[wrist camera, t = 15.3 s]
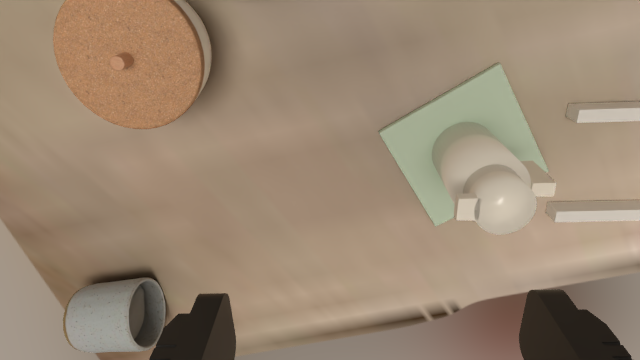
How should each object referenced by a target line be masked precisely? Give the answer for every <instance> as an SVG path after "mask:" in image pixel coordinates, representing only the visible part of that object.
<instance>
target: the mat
mask: <svg viewBox="0 0 640 360" xmlns="http://www.w3.org/2000/svg"><path fill="white" fill-rule="evenodd" d="M462 122H474V123H478V124H481V125H483V126H484V127H486V128H487V129H488V130H489V131H490V132H491V133H492V134H493V135H494V136H495V137H496V138H497V139H498V140H499V141H500V142H501V143H502V144H503V145H504V146H505V147H506V148H507V149H508V150H509V151H510V152H511V153H512V154H513V155H514V156H515V157H516V158H517V159H518V160H519V161H534V162H535V163H536V164H537V165H538V166H539V167H540V168H541V169H542V170H543V171H545V172H548V171H549V170H548V168H547V166H546V164H545V162H544V159H543V157H542V155H541V153H540V151H539V148H538V146H537V144H536V142H535V139H534V137H533V135H532V133H531V131H530V128H529V126H528V124H527V122H526V120H525V117H524V115H523V113H522V111H521V108H520V106H519V104H518V102H517V100H516V97H515V95H514V93H513V91H512V89H511V86H510V84H509V82H508V80H507V77H506V75H505V73H504V71H503V69H502V66H501V64H500V63H496V64H495V65H493V66H491V67H489V68H488V69H486V70H484V71H482V72H481V73H479V74H477V75H475V76H474V77H472V78H470V79H468V80H467V81H465V82H463V83H462V84H460V85H458V86H456V87H455V88H453V89H451V90H449V91H448V92H446V93H444V94H442V95H441V96H439V97H437V98H435V99H434V100H432V101H430V102H428V103H427V104H425V105H423V106H421V107H420V108H418V109H416V110H414V111H413V112H411V113H409V114H407V115H406V116H404V117H402V118H400V119H399V120H397V121H395V122H393V123H392V124H390V125H388V126H386V127H385V128H383V129H381V130H379V131H378V132H379V134H380V136H381V137H382V139H383V141H384V142H385V144H386V146H387V147H388V149H389V151H390V152H391V154H392V156H393V157H394V159H395V160H396V162H397V164H398V165H399V167H400V169H401V170H402V172H403V174H404V175H405V177H406V179H407V180H408V182H409V184H410V185H411V187H412V189H413V190H414V192H415V194H416V195H417V197H418V198H419V200H420V202H421V203H422V205H423V207H424V208H425V210H426V212H427V213H428V215H429V217H430V218H431V220H432V222H433V223H434V225H435V227H436V226H438V225H440V224H442V223H444V222H446V221H448V220H450V219H452V218H454V206H455V205H454V203H453V201H452V199H451V197H450V195H449V193H448V191H447V189H446V187H445V186H444V184H443V182H442V180H441V178H440V176H439V174H438V172H437V170H436V168H435V166H434V164H433V161H432V149H433V145H434V143H435V141H436V139H437V138H438V136H439V135H440V134H441V133H442V132H443V131H444V130H446V129H447V128H449V127H450V126H452V125H454V124H457V123H462Z"/></svg>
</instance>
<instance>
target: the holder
mask: <svg viewBox="0 0 640 360" xmlns="http://www.w3.org/2000/svg"><path fill="white" fill-rule="evenodd" d="M566 117H568V118H569V119H571V120H573V121H574V122H576V123H592V122H624V121H640V101H631V102H601V103H571V104H568V107H567V112H566ZM546 213H547V214H548V216H549V217H550V218H551V219H552V220H553V221H554V222H595V221H640V200H610V201H567V202H548V203H547V208H546Z"/></svg>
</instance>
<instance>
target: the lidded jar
mask: <svg viewBox="0 0 640 360" xmlns="http://www.w3.org/2000/svg"><path fill="white" fill-rule="evenodd" d="M53 42H54V52H55V56H56V60H57V64H58V67H59V69H60V71H61V74H62V76H63V78H64V80H65V81H66V83H67V85H68V87H69V88H70V89H71V91H72V92H73V93H74V95H75V96H76V97H77V98H78V99H79V100H80V101H81V102H82V103H83V104H84V105H85V106H86V107H87V108H89V109H90V110H91V111H92V112H93V113H95V114H97V115H98V116H100V117H101V118H103V119H105V120H107V121H109V122H111V123H114V124H116V125H120V126H123V127H127V128H133V129H151V128H157V127H160V126H163V125H167V124H169V123H170V122H172V121H174V120H176V119H177V118H179V117H180V116H181V115H182V114H184V113H185V112H186V111H187V110H188V109H189V107H190V106H191V105H192V104H193V103H194V101H195V99H196V98H197V97H198V96H199V95H200V93H201V91H202V90H203V88H204V86H205V84H206V82H207V79H208V77H209V73H210V68H211V58H212V53H211V44H210V40H209V36H208V33H207V31H206V28H205V26H204V24H203V22H202V21H201V19H200V17H199V16H198V14H197V13H196V12H195V11H194V9H193V8H192V7H191V6H190V5H189V4H188V3H187V2H186V1H185V0H65V2H64V3H63V5H62V6H61V8H60V10H59V13H58V15H57V17H56V22H55V26H54V37H53Z"/></svg>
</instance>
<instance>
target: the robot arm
mask: <svg viewBox="0 0 640 360" xmlns="http://www.w3.org/2000/svg"><path fill="white" fill-rule="evenodd" d="M519 343H520V349H521V353H522V356H523V358H524V360H632V359H631V355H630V354H629V353H628V352H627V350H626V349H625V348H624V346H623V345H620V341H619V340H618V339H617V337H616V336H615V335H614V334H613V332H612V331H611V330H610V329H609V327H608V326H607V325H606V324H605V323H604V322H602V321H601V320H600V319H598V318H597V317H596V316H594V315H593V314H592V313H590V312H589V311H588V310H578V309H577V308H576V306H575V305H574V303H573V302H572V301H571V299H570V298H569V297H568V295H567V294H566V293H565V292H564V291H563V290H560V289H558V290H530V291H529V293H528V295H527V299H526V304H525V309H524V314H523V318H522V323H521V328H520V333H519ZM235 350H236V336H235V329H234V323H233V318H232V312H231V306H230V300H229V296H228V294H226V293H224V294H199V295H198V296H197V298H196V301H195V303H194V305H193V308H192V310H191V312H190V314H178V315H177V316H176V317H175V318H174V319H173V320H172V321H171V322H170V323H169V324H168V325H167V326H166V327H165V328H164V329H163V331H162V334H161V336H160V338H159V340H158V342H157V344H156V348H154V350H153V352H152V354H151V356H150V359H149V360H234V357H235Z"/></svg>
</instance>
